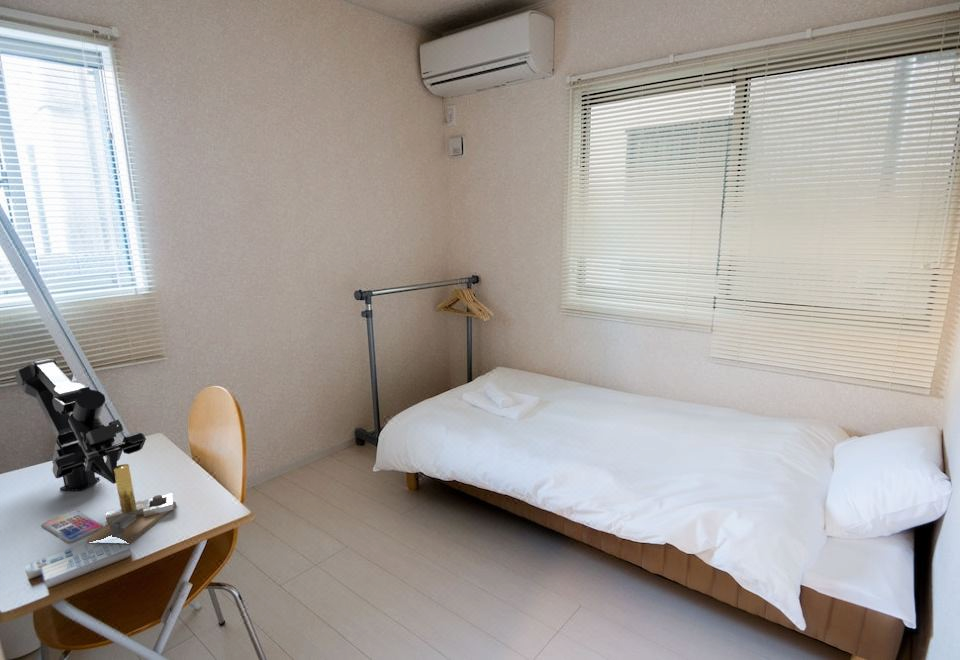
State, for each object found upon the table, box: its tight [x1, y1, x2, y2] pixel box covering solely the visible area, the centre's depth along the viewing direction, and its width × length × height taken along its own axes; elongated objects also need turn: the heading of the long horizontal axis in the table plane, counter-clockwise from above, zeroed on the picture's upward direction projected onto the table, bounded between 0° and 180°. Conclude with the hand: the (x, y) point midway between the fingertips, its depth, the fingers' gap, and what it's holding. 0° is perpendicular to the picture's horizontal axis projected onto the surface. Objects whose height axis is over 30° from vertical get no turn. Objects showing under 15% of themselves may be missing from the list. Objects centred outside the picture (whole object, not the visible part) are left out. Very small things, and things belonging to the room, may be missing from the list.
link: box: [105, 463, 174, 524], centre depth 125 cm, size 14×6×12 cm, turn 120°
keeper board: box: [86, 494, 177, 545], centre depth 124 cm, size 10×16×4 cm, turn 175°
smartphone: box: [41, 510, 105, 544], centre depth 123 cm, size 7×1×15 cm
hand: (115, 482), depth 127 cm, fingers closed
